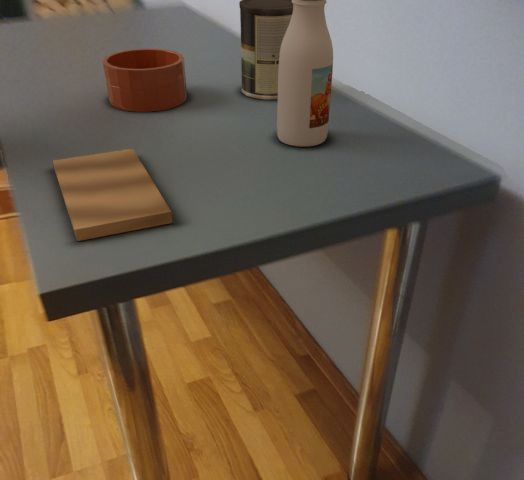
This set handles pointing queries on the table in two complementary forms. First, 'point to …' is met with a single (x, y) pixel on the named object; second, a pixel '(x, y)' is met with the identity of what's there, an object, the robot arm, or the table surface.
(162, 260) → the table surface
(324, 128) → the milk bottle
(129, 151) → the board
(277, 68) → the coffee can
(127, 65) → the pot
